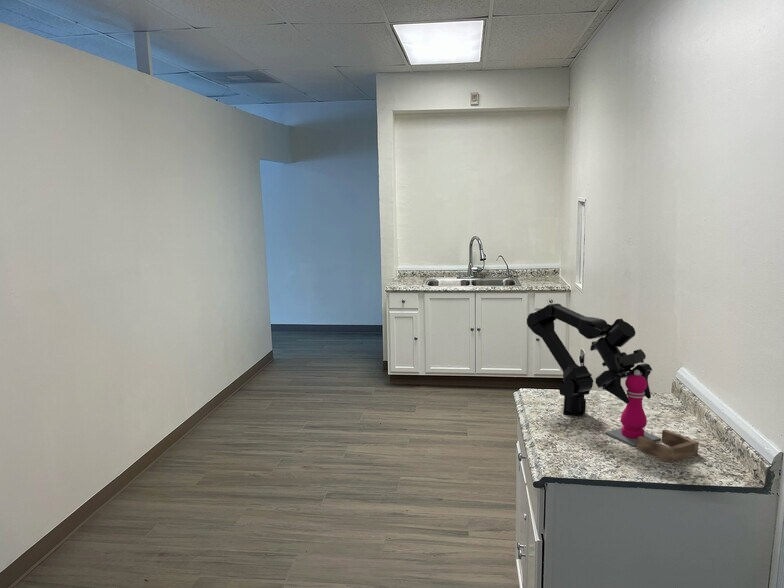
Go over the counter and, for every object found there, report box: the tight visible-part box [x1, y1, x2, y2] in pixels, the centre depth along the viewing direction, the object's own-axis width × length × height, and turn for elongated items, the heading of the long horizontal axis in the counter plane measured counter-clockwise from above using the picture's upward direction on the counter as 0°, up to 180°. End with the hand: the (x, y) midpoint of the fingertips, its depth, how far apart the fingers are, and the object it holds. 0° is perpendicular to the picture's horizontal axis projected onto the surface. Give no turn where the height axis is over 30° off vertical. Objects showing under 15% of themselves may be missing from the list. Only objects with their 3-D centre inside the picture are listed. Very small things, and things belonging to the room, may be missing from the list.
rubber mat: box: [604, 427, 662, 448], centre depth 180 cm, size 11×11×1 cm
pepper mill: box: [620, 370, 648, 439], centre depth 178 cm, size 7×7×20 cm
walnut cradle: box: [636, 429, 700, 464], centre depth 169 cm, size 10×12×4 cm
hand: (639, 400), depth 177 cm, fingers open, 9 cm apart
